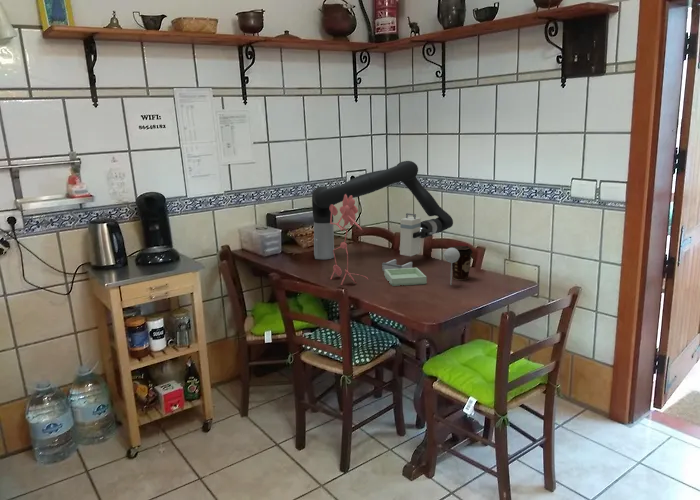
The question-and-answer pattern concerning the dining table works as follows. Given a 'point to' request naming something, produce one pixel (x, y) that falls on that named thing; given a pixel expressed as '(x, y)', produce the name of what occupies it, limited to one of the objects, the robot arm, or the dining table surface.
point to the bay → (393, 265)
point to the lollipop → (451, 257)
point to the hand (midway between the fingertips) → (407, 234)
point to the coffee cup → (462, 263)
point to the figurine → (348, 216)
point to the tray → (405, 276)
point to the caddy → (409, 235)
